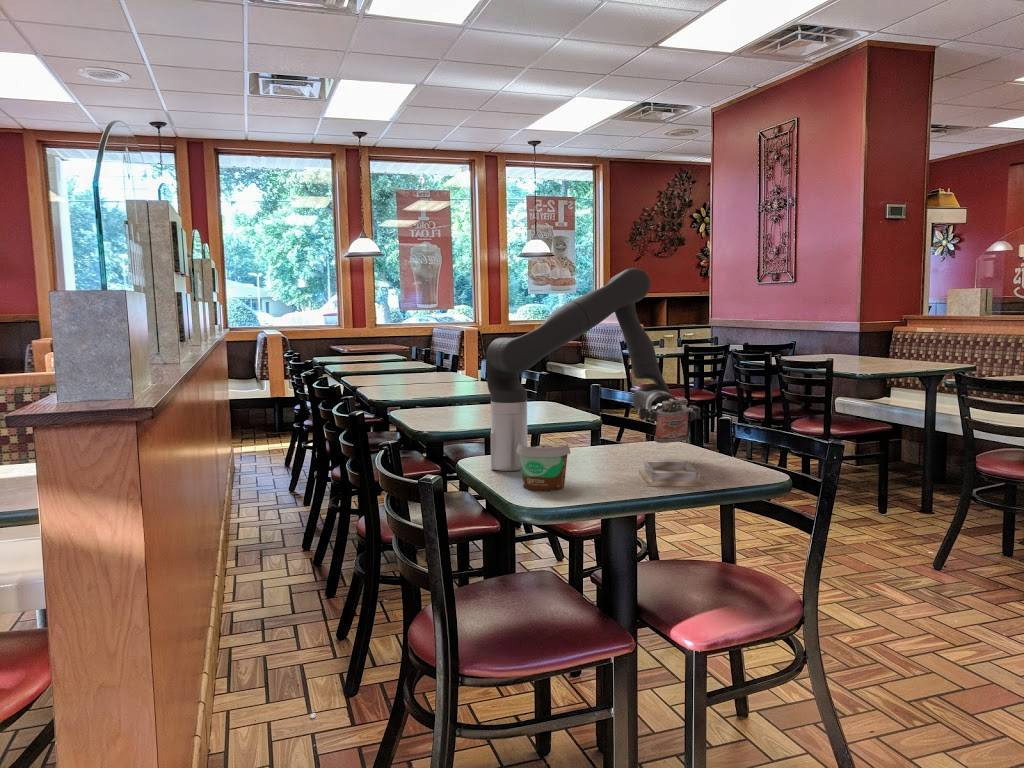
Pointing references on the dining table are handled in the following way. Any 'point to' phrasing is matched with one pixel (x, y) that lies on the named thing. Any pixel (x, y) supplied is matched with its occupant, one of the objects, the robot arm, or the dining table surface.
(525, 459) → the food container
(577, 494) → the dining table surface
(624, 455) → the dining table surface
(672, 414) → the lighter
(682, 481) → the tray
